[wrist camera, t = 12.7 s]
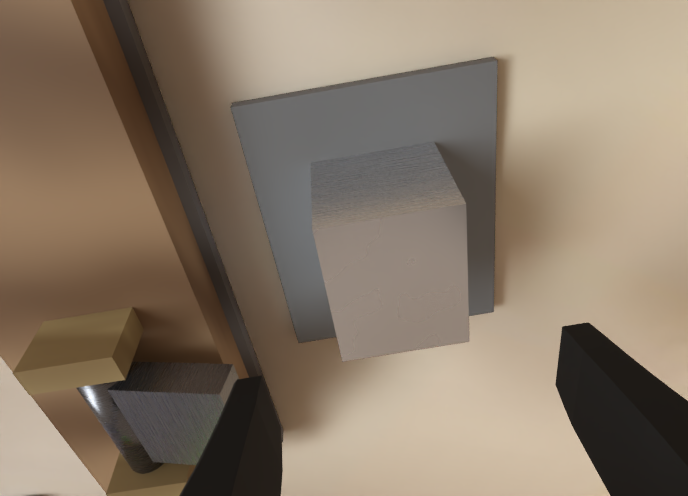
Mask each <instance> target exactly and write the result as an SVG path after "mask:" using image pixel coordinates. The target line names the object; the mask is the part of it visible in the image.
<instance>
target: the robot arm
mask: <svg viewBox="0 0 688 496" xmlns="http://www.w3.org/2000/svg"><path fill="white" fill-rule="evenodd" d="M556 387H557V389H558V392H559V395H560V397H561V400H562V402H563V405H564V407H565V410H566V412H567V414H568V417H569V419H570V422H571V424H572V426H573V428H574V430H575V432H576V434H577V436H578V437H579V439H580V441H581V443H582V445H583V447H584V448H585V450H586V452H587V454H588V456H589V458H590V459H591V461H592V463H593V465H594V467H595V468H596V470H597V472H598V474H599V476H600V477H601V479H602V481H603V483H604V485H605V486H606V488H607V490H608V492H609V494H610V495H611V496H688V401H687V400H686V399H684V398H683V397H682V396H680V395H679V394H678V393H676V392H675V391H674V390H672V389H671V388H670V387H668V386H667V385H666V384H664V383H663V382H662V381H660V380H659V379H658V378H657V377H655V376H654V375H653V374H651V373H650V372H649V371H648V370H646V369H645V368H644V367H642V366H641V365H640V364H639V363H637V362H636V361H635V360H634V359H633V358H631V357H630V356H629V355H628V354H626V353H625V352H624V351H623V350H621V349H620V348H619V347H618V346H617V345H615V344H614V343H613V342H612V341H611V340H609V339H608V338H607V337H606V336H605V335H603V334H602V333H601V332H600V331H598V330H597V329H596V328H595V327H594V326H592V325H591V324H590V323H582V324H576V325H570V326H564V327H562V334H561V343H560V351H559V360H558V368H557V377H556ZM281 483H282V438H281V426H280V424H279V421H278V418H277V415H276V413H275V410H274V407H273V404H272V402H271V399H270V396H269V393H268V391H267V388H266V385H265V382H264V380H263V377H262V376H255V377H249V378H243V379H237V380H236V382H235V383H234V384H233V387H232V389H231V392H230V394H229V397H228V399H227V401H226V404H225V406H224V408H223V411H222V413H221V415H220V417H219V419H218V422H217V424H216V426H215V428H214V430H213V432H212V435H211V437H210V439H209V441H208V443H207V445H206V447H205V449H204V451H203V453H202V455H201V457H200V459H199V461H198V463H197V465H196V466H195V468H194V470H193V472H192V474H191V476H190V477H189V479H188V481H187V483H186V485H185V486H184V488H183V490H182V492H181V493H180V495H179V496H281Z"/></svg>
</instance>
